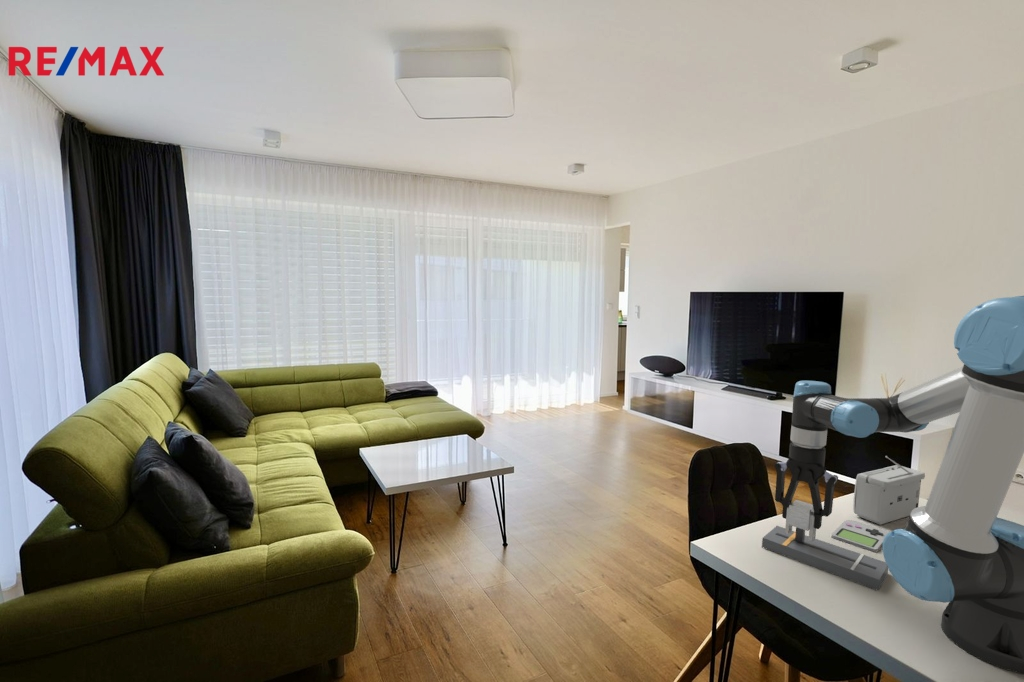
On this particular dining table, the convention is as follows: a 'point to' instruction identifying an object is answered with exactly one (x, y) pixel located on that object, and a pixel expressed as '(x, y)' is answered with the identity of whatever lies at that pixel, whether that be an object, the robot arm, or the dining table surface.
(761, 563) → the dining table surface
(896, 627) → the dining table surface
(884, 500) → the stereo radio cassette player
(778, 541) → the fader board
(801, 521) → the cap
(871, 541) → the handheld gaming console
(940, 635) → the dining table surface
